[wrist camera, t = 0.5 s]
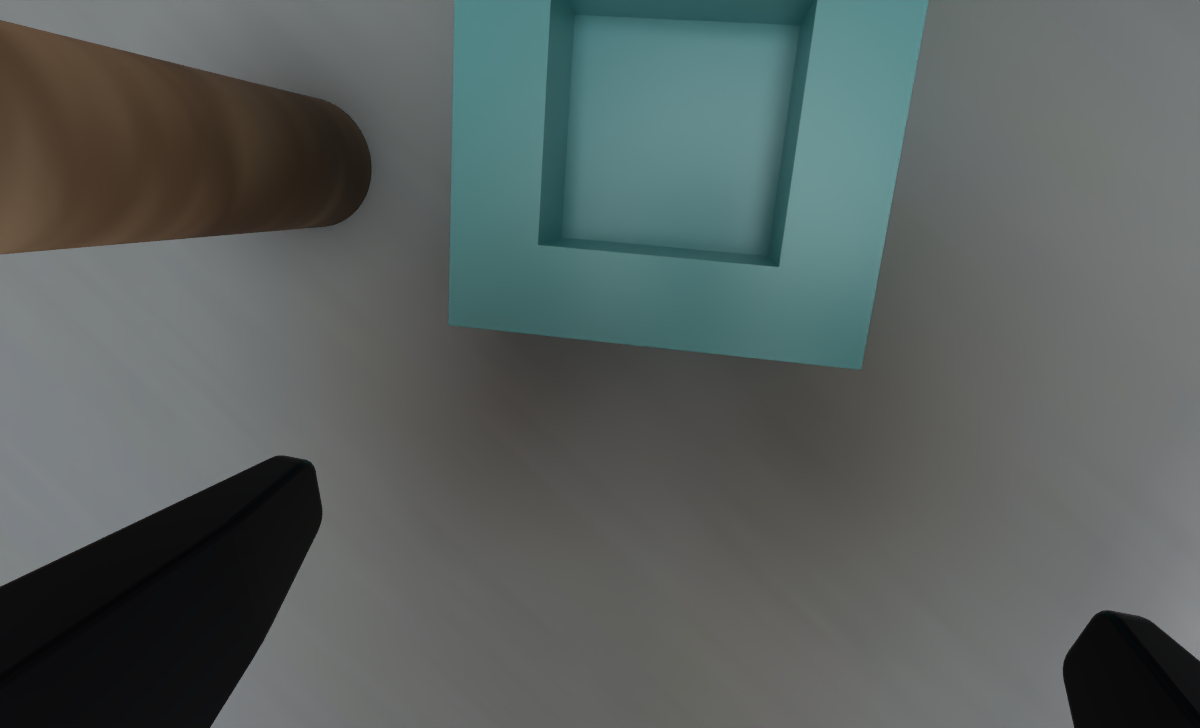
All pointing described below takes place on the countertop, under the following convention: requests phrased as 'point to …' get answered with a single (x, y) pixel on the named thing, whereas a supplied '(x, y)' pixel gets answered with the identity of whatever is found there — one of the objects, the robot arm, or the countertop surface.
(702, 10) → the socket block
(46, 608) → the robot arm
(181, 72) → the dowel
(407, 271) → the countertop surface
